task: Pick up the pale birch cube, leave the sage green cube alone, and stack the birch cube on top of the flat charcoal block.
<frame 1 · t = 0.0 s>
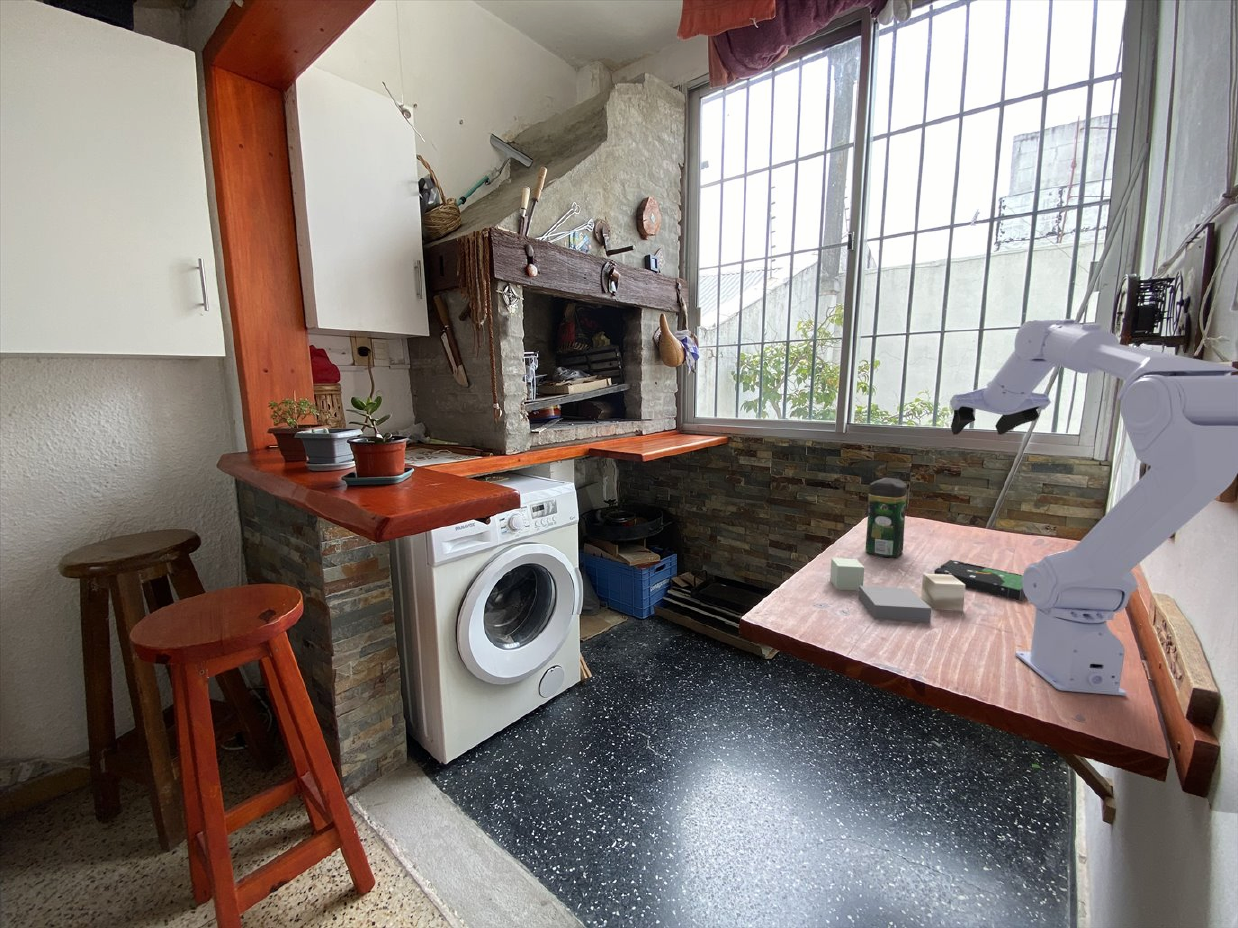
hand: (976, 430, 92), 32 cm above the table, tool tilted 50°, fingers open, 7 cm apart
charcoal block: (892, 611, 90), on the table
coffee jar: (883, 552, 122), on the table
sage cube: (845, 585, 101), on the table
birch cube: (941, 604, 92), on the table
disk drive: (981, 586, 101), on the table
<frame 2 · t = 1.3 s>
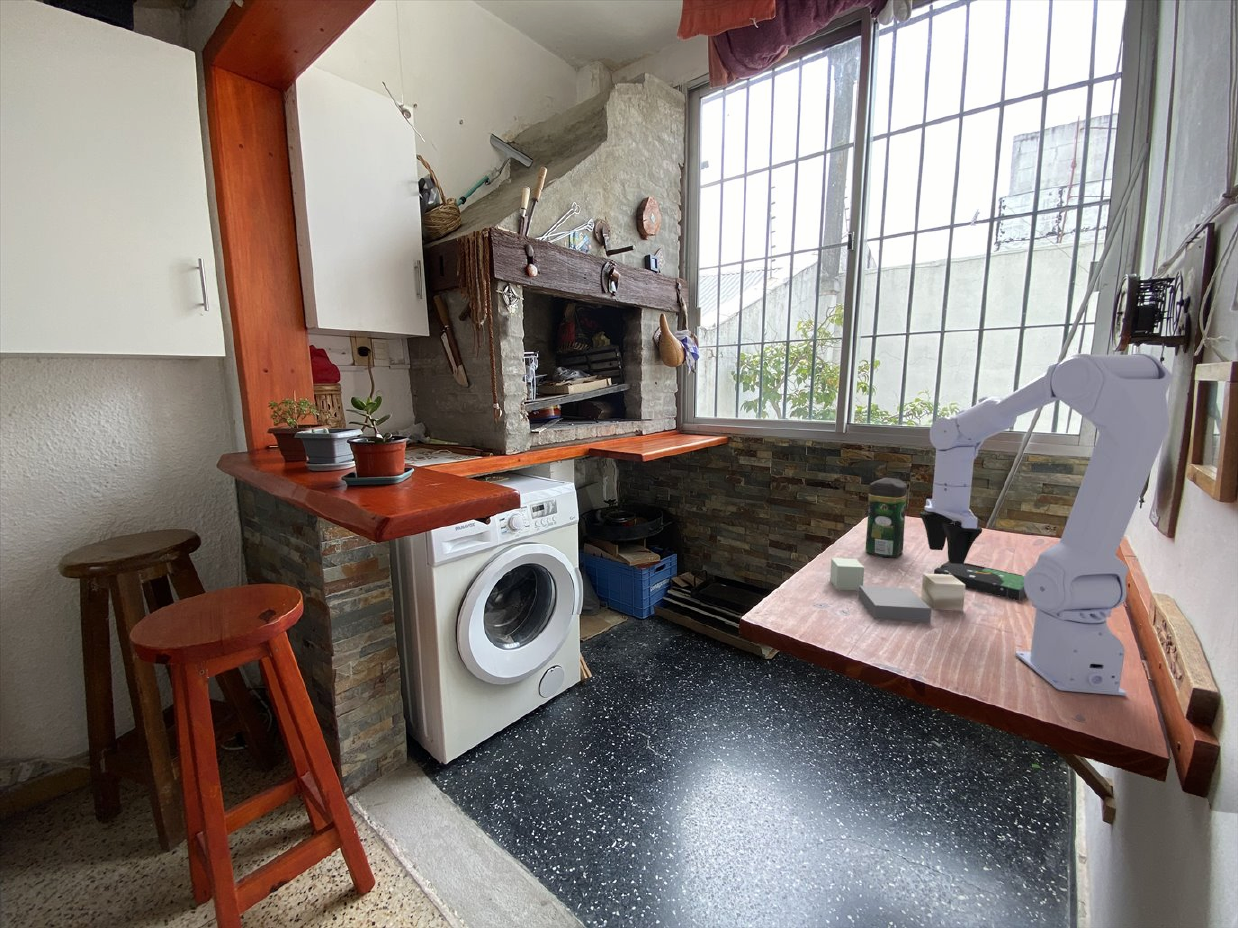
hand: (945, 555, 90), 9 cm above the table, tool pointing down, fingers open, 7 cm apart
nothing on the table moved.
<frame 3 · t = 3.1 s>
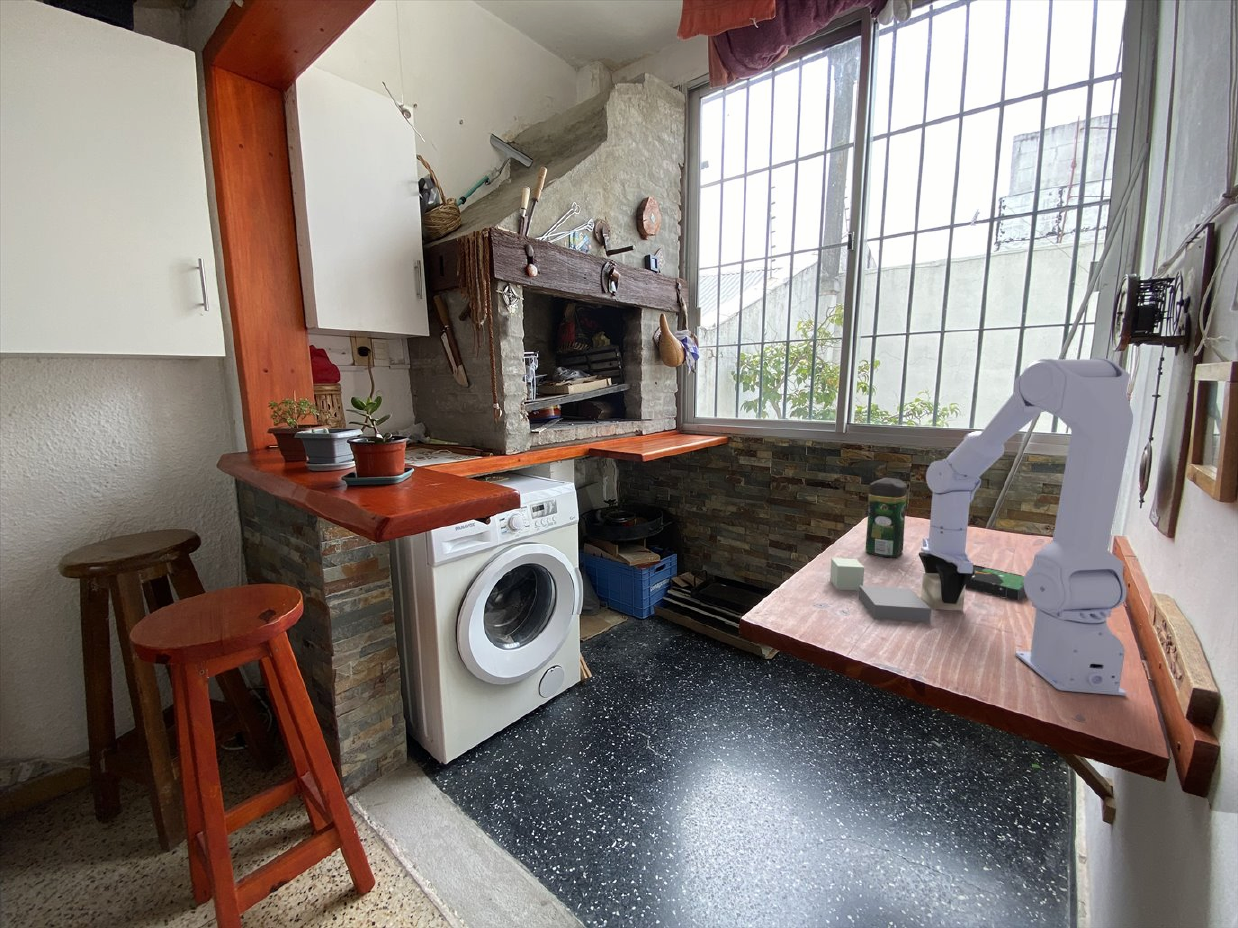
hand: (942, 596, 92), 1 cm above the table, tool pointing down, fingers closed on birch cube, 5 cm apart
birch cube: (941, 603, 92), on the table, touching gripper
everything else where it was.
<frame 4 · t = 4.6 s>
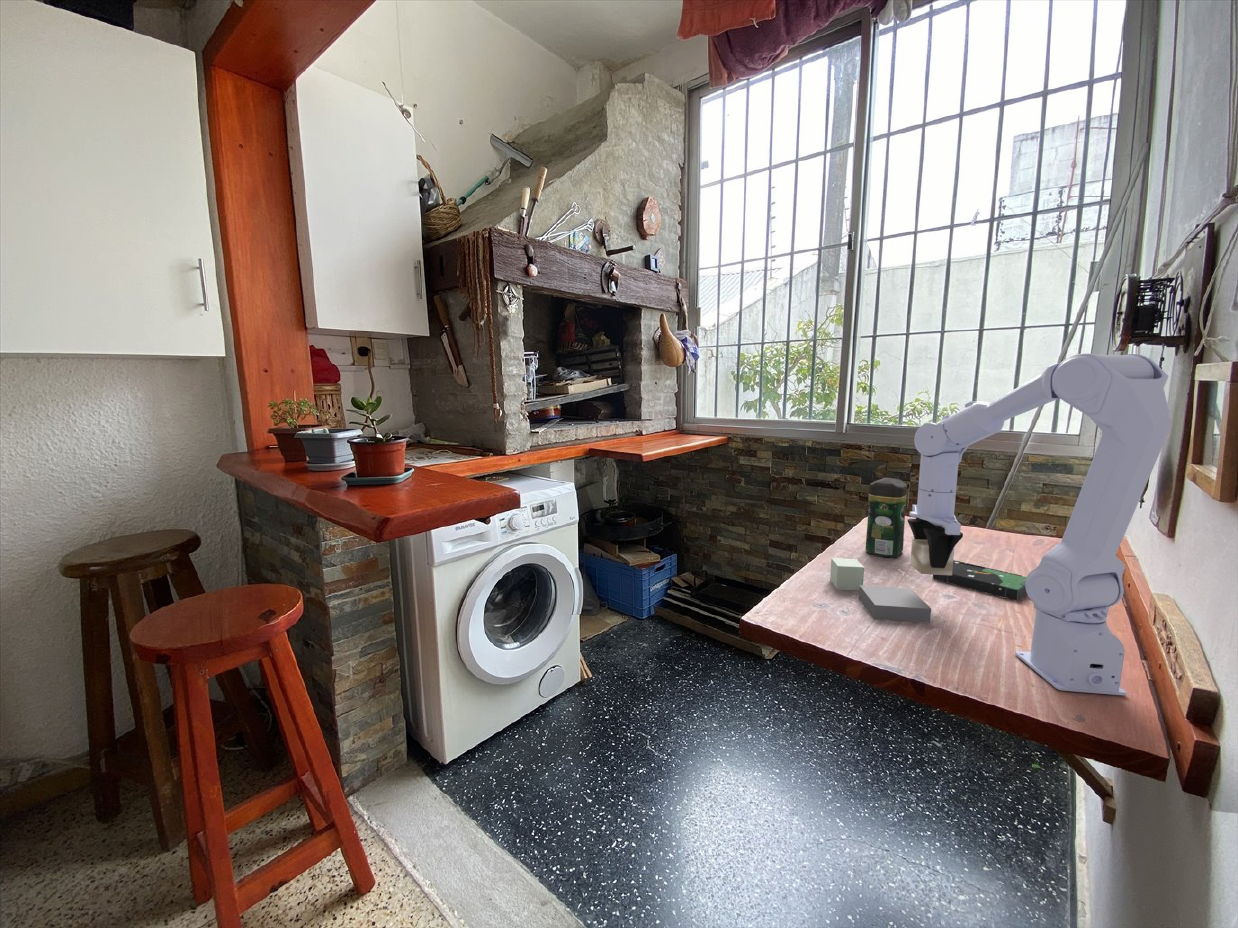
hand: (930, 562, 90), 8 cm above the table, tool pointing down, fingers closed on birch cube, 5 cm apart
birch cube: (930, 569, 90), point 7 cm above the table, touching gripper
everything else where it was.
when the fingers open (6 cm above the table, at t = 6.3 s): birch cube drops 2 cm, resting on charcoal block.
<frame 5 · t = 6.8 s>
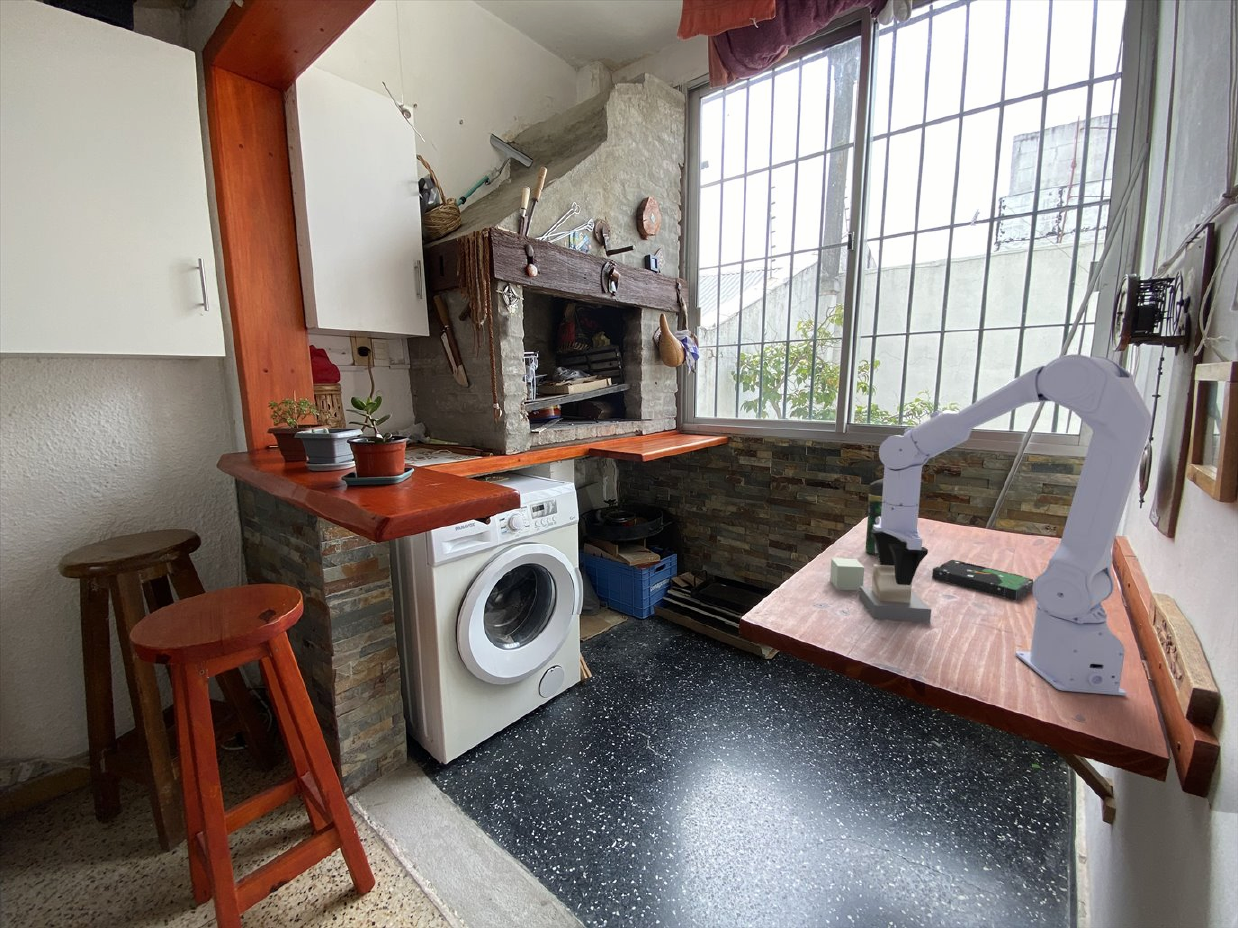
hand: (894, 576, 89), 6 cm above the table, tool pointing down, fingers open, 7 cm apart
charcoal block: (892, 612, 90), on the table, touching birch cube
birch cube: (890, 596, 89), point 2 cm above the table, touching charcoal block
everything else where it was.
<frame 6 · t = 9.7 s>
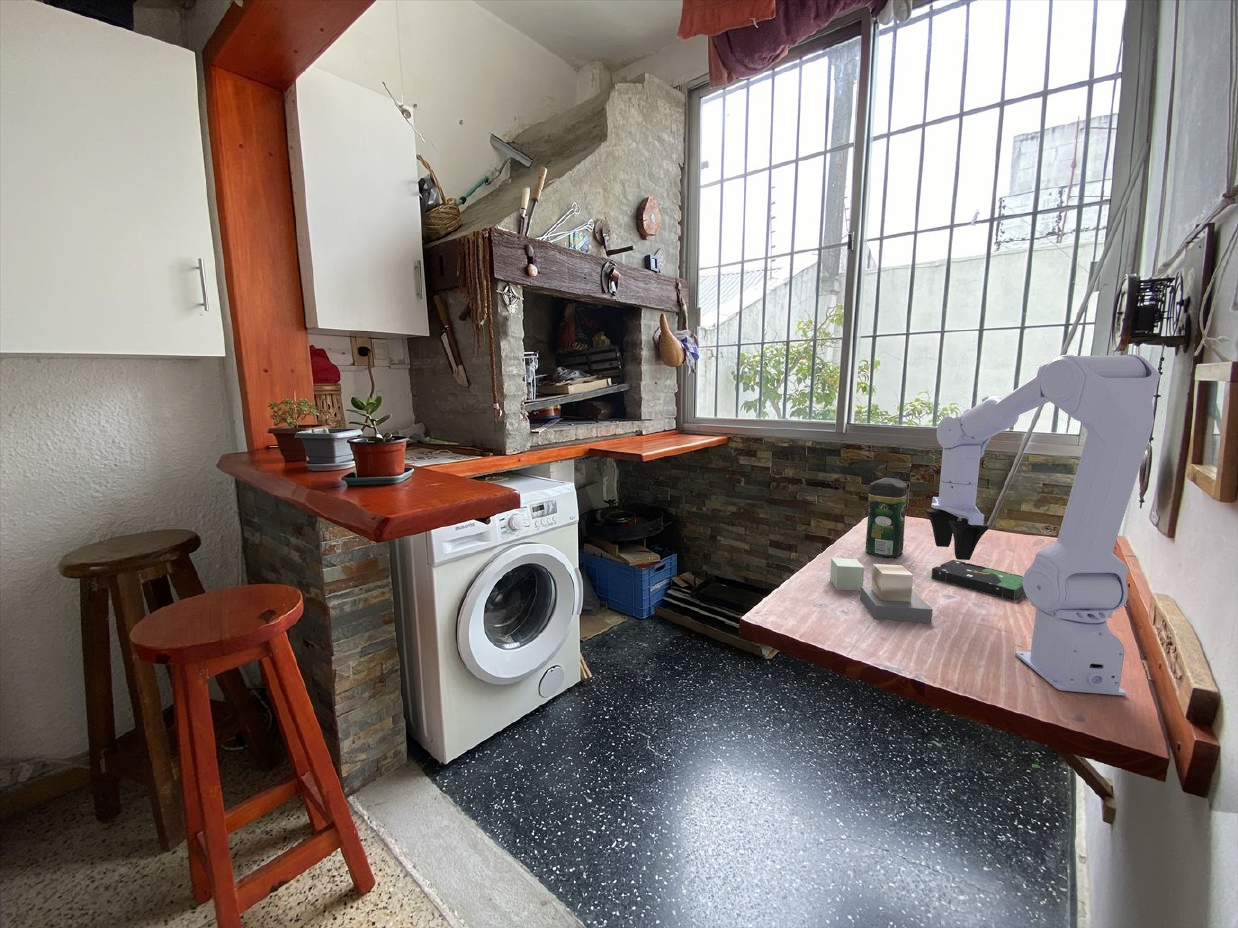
hand: (952, 552, 92), 9 cm above the table, tool pointing down, fingers open, 7 cm apart
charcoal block: (893, 612, 89), on the table
birch cube: (890, 595, 90), point 3 cm above the table
everything else where it was.
at the end: birch cube 0.7 cm off-centre on the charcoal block, point 3.0 cm above the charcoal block's base; birch cube tilted 0°; the gripper is holding nothing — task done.
